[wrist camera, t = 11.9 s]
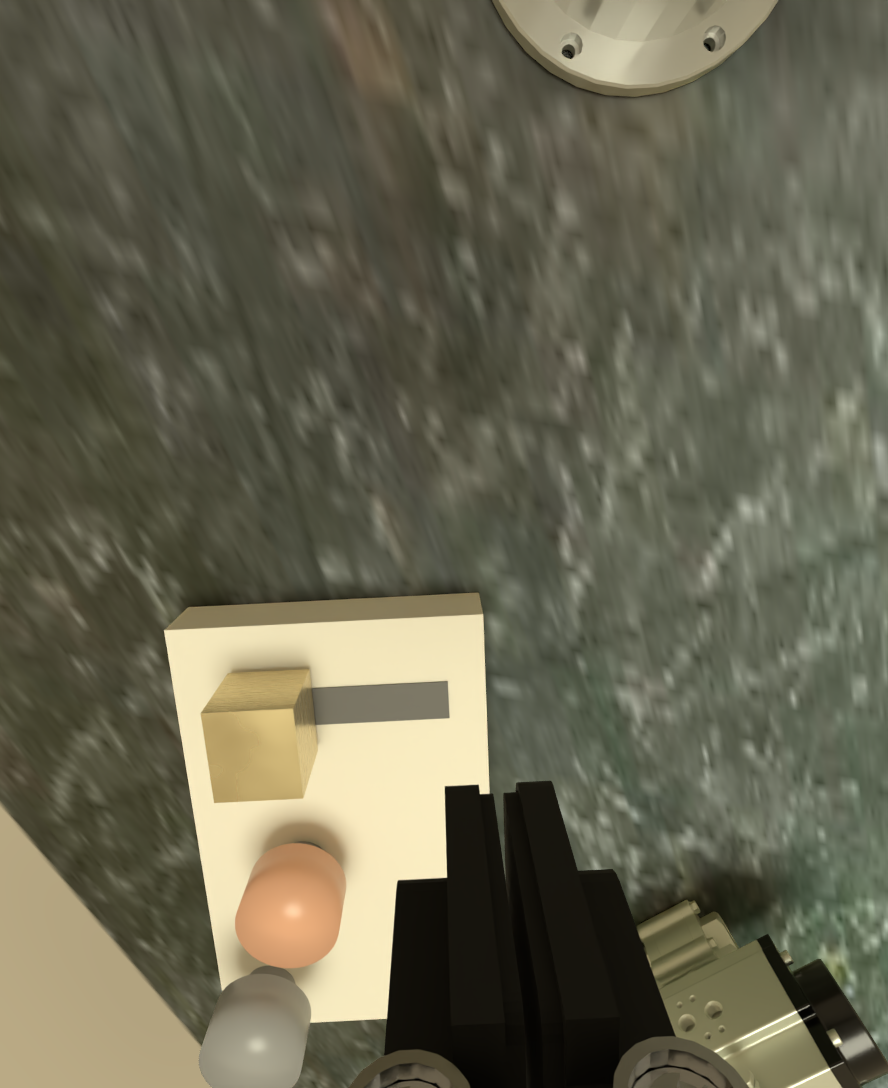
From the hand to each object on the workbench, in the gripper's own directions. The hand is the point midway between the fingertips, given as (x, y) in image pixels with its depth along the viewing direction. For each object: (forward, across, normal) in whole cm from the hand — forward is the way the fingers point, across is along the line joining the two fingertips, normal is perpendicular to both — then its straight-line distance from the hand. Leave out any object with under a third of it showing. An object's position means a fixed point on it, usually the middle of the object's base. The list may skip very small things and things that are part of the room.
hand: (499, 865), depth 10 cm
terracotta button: (+19, +8, +15) cm, 25 cm away
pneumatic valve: (+22, -11, +23) cm, 34 cm away
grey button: (+18, +10, +21) cm, 29 cm away
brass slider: (+19, +8, +7) cm, 22 cm away
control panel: (+22, +6, +14) cm, 27 cm away
